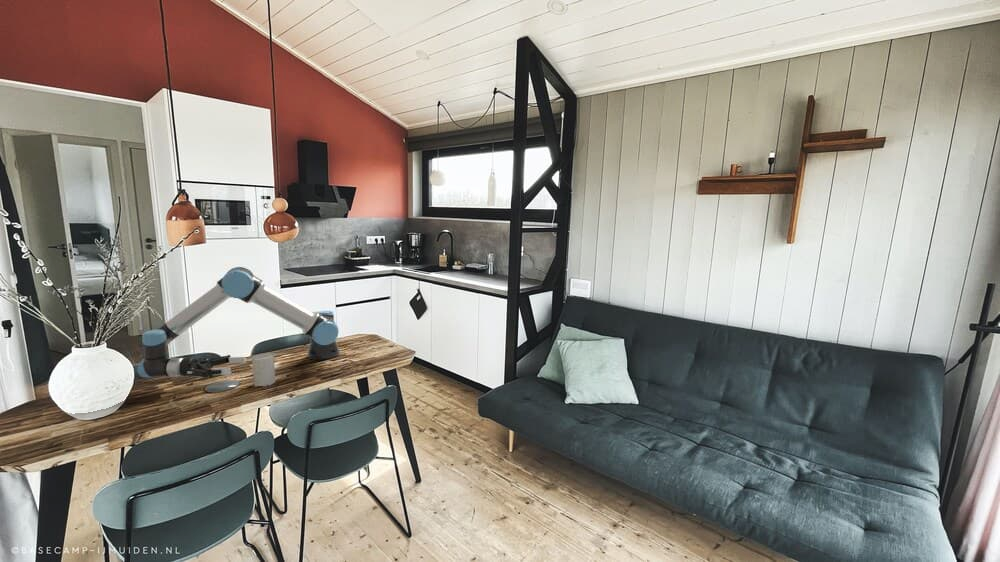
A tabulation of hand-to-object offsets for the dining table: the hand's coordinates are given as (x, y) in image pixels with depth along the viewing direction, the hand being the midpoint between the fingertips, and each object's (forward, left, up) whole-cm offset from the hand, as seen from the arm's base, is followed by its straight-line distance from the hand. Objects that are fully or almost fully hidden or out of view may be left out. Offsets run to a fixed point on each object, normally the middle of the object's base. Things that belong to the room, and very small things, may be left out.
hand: (238, 365), depth 179 cm
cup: (-10, +3, -9) cm, 13 cm away
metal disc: (+6, +1, -8) cm, 11 cm away
